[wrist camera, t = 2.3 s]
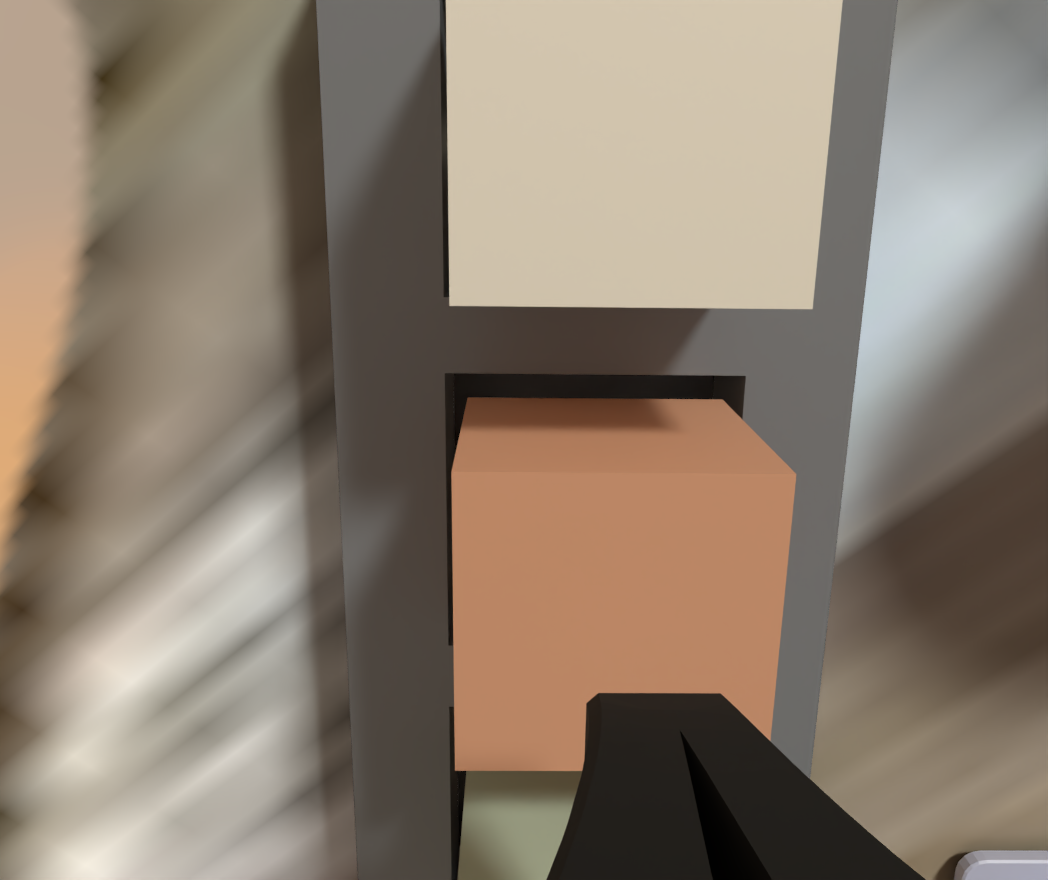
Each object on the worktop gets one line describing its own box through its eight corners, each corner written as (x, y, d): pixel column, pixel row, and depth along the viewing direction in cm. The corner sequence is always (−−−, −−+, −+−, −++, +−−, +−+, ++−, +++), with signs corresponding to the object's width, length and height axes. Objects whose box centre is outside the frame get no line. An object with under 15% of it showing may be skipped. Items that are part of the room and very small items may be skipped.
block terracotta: (705, 629, 17) (767, 771, 13) (469, 628, 17) (454, 770, 13) (722, 399, 15) (795, 474, 11) (468, 397, 15) (451, 471, 11)
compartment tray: (759, 877, 21) (789, 962, 19) (378, 878, 21) (361, 962, 19) (851, -63, 16) (909, -106, 13) (340, -70, 16) (310, -116, 13)
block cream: (731, 276, 15) (812, 309, 11) (466, 274, 15) (449, 305, 11) (752, -14, 14) (852, -99, 10) (464, -19, 14) (444, -106, 10)
